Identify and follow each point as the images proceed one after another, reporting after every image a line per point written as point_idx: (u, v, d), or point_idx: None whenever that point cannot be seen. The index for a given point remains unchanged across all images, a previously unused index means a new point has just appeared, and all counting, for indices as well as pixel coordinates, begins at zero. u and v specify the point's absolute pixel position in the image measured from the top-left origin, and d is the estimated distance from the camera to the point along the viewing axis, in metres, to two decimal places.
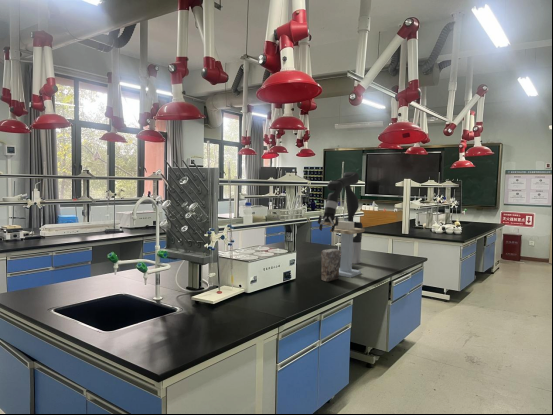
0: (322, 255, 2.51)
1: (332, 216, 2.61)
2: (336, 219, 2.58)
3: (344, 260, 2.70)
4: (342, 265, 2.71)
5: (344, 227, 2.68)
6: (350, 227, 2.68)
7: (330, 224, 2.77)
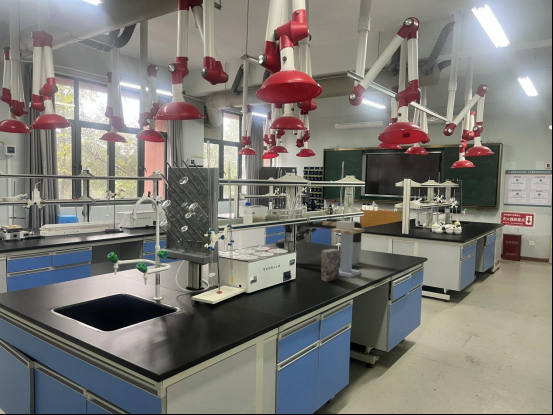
0: (322, 255, 2.51)
1: (301, 236, 2.91)
2: (300, 235, 2.87)
3: (344, 260, 2.70)
4: (342, 265, 2.71)
5: (344, 227, 2.68)
6: (350, 227, 2.68)
7: (330, 224, 2.77)
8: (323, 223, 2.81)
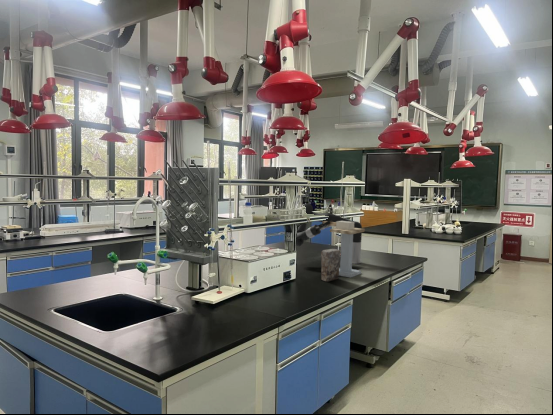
0: (322, 255, 2.51)
1: (317, 229, 2.82)
2: (319, 228, 2.78)
3: (344, 260, 2.70)
4: (342, 265, 2.71)
5: (344, 227, 2.68)
6: (350, 227, 2.68)
7: (330, 224, 2.77)
8: None
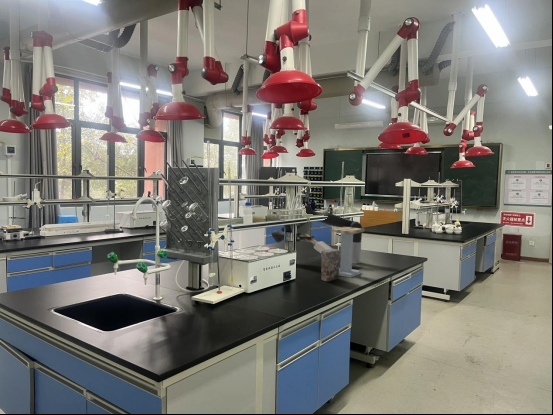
0: (322, 255, 2.51)
1: None
2: (299, 239, 2.89)
3: (344, 260, 2.70)
4: (342, 265, 2.71)
5: (320, 251, 2.79)
6: None
7: (310, 240, 2.88)
8: None
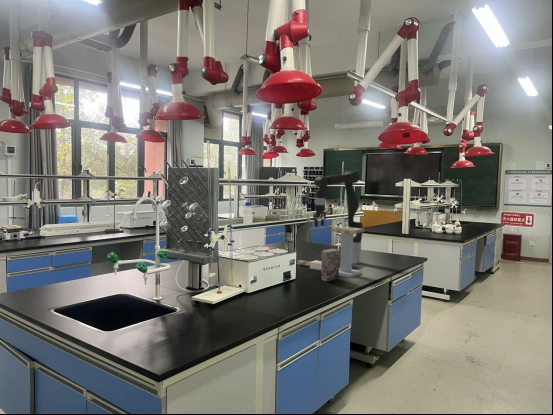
0: (322, 255, 2.51)
1: None
2: None
3: (344, 260, 2.70)
4: (342, 265, 2.71)
5: (317, 268, 2.83)
6: None
7: (304, 264, 2.92)
8: (298, 262, 2.95)
